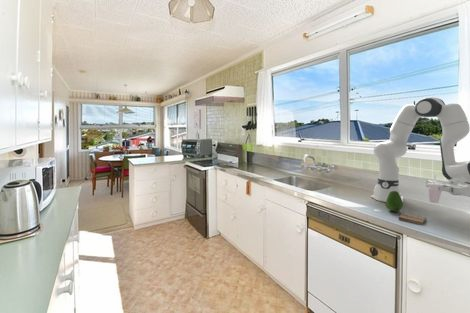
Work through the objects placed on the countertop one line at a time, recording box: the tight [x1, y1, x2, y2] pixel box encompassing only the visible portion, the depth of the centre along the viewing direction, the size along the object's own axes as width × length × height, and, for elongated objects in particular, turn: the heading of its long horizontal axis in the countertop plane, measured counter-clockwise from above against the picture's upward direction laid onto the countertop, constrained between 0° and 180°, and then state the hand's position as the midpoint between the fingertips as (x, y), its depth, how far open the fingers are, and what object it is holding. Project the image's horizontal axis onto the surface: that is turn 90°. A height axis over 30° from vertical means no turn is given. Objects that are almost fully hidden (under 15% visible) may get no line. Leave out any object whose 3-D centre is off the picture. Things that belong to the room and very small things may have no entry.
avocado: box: [385, 191, 404, 213], centre depth 143 cm, size 8×8×12 cm
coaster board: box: [398, 212, 427, 226], centre depth 130 cm, size 10×10×2 cm
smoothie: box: [428, 175, 443, 204], centre depth 131 cm, size 6×6×14 cm
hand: (433, 187), depth 131 cm, fingers closed on smoothie, 6 cm apart
